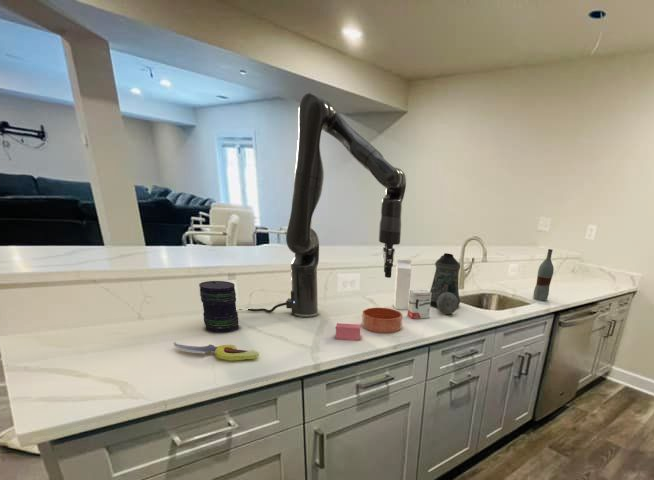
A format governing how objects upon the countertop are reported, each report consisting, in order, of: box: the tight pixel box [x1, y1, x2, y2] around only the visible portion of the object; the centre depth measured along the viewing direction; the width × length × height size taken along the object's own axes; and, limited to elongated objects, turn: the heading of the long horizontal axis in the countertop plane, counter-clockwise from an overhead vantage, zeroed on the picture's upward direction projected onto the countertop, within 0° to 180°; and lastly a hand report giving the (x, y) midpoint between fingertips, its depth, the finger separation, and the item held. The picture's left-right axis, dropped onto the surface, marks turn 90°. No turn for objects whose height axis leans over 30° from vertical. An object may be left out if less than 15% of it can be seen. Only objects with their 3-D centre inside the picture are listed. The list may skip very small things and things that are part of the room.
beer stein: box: [429, 252, 461, 309], centre depth 189 cm, size 16×19×25 cm
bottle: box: [532, 248, 554, 302], centre depth 229 cm, size 9×9×30 cm
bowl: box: [361, 307, 403, 334], centre depth 150 cm, size 15×15×6 cm
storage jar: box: [198, 280, 240, 334], centre depth 126 cm, size 10×10×15 cm
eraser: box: [335, 322, 361, 341], centre depth 135 cm, size 8×4×4 cm, turn 102°
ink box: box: [407, 288, 432, 320], centre depth 167 cm, size 8×5×12 cm, turn 123°
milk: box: [393, 259, 412, 310], centre depth 175 cm, size 6×6×22 cm
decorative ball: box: [437, 292, 459, 315], centre depth 178 cm, size 10×10×10 cm
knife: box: [172, 342, 260, 361], centre depth 110 cm, size 8×3×25 cm
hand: (387, 274), depth 142 cm, fingers open, 8 cm apart
